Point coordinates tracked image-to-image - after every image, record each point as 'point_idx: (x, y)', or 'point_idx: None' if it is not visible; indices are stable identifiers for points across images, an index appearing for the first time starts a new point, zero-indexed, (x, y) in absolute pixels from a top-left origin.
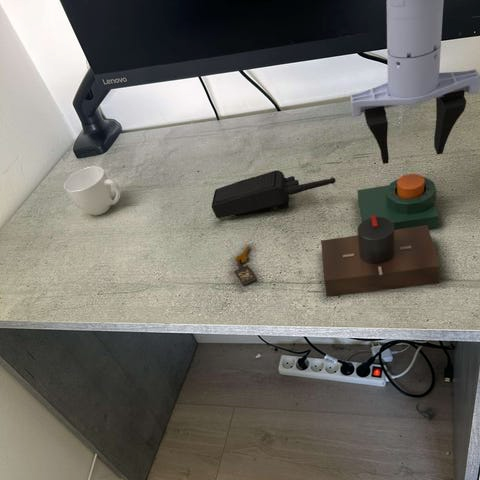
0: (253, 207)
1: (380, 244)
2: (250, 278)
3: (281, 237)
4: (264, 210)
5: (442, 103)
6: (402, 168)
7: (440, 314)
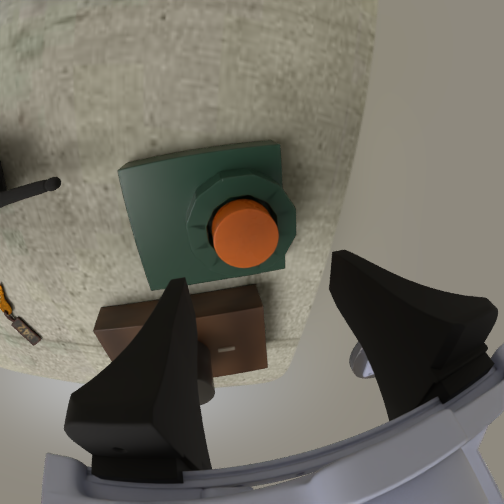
0: None
1: None
2: (34, 337)
3: (25, 263)
4: None
5: (408, 410)
6: (228, 44)
7: (257, 374)
